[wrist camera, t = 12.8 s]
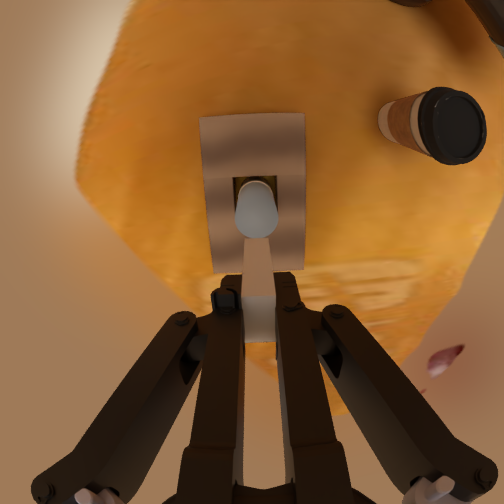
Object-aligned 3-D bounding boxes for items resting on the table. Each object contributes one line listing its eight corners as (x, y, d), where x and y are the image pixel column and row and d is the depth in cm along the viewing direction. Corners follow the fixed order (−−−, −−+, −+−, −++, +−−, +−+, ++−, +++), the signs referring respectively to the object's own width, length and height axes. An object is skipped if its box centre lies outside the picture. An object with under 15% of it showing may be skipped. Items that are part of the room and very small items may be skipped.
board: (204, 118, 32) (198, 117, 29) (298, 114, 32) (304, 113, 28) (217, 259, 41) (213, 273, 37) (299, 256, 40) (303, 269, 37)
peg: (239, 175, 36) (232, 197, 25) (270, 174, 35) (278, 195, 25) (240, 205, 37) (235, 240, 26) (271, 204, 37) (279, 238, 26)
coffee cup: (427, 135, 32) (497, 149, 19) (387, 161, 34) (451, 184, 21) (401, 85, 29) (469, 75, 16) (358, 109, 31) (417, 103, 18)
